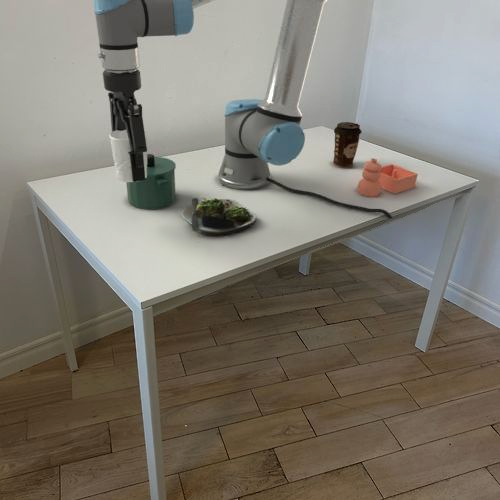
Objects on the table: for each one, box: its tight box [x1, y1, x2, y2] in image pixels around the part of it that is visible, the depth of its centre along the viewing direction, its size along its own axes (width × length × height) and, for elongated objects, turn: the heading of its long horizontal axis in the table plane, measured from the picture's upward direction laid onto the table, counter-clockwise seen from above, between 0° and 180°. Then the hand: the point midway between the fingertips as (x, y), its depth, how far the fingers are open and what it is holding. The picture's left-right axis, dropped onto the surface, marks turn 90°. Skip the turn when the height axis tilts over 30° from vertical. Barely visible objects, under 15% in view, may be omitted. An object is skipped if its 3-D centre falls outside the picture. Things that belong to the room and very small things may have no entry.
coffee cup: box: [332, 121, 362, 169], centre depth 158 cm, size 9×8×13 cm
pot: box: [125, 170, 177, 210], centre depth 132 cm, size 12×18×9 cm
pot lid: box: [147, 153, 177, 177], centre depth 129 cm, size 13×13×4 cm
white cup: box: [108, 130, 148, 183], centre depth 112 cm, size 8×8×10 cm
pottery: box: [357, 158, 419, 198], centre depth 143 cm, size 18×10×10 cm, turn 126°
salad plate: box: [181, 197, 257, 238], centre depth 124 cm, size 19×18×5 cm
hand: (132, 173), depth 114 cm, fingers closed on white cup, 8 cm apart
